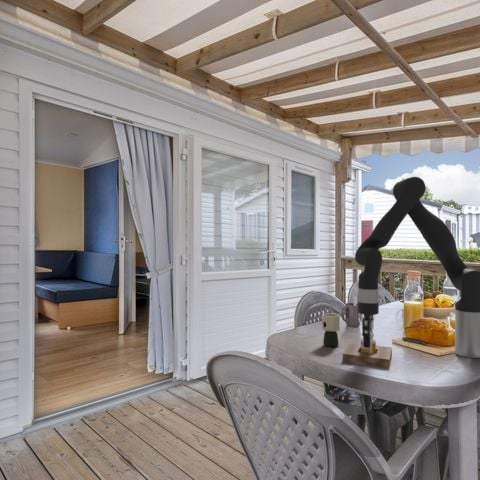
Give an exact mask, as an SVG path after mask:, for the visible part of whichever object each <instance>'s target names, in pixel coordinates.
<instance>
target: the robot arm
mask: <svg viewBox="0 0 480 480" xmlns="http://www.w3.org/2000/svg"><path fill="white" fill-rule="evenodd" d="M426 189H427V188H426V183H425V181H424V179H422V178H421V177H418V176H410V177H406V178H404V179H402V180H400V181H398V182H396V183H395V184H394V185H393V188H392V195H393V198H394V199H395V203H394V204H393V205H392V206H391V208H390V209H389V210H387V212H386V213H385V214H384V215H383V216H382V217H381V219H380V220H379V221H378V222H377V224H376V226H375V227H374V228H373V230H372V232H371V233H370V235H369V236H368V237H367V238H366V239H365V240H364V241H363V242H362V243H361V244H360V245H359V246H358V247H357V249H356V251H355V255H354V260H355V262H356V263H357V264H358V265H360V266H364V269H363V272H361V273H359V274H358V279H357V280H358V289H357V313H358V314H361V315H363V317H362V318H361V322H362V323H361V325H362V327H361V329H362V333H361V335H362V338H363V337H364V347H367V348H369V347H370V337H371V335H370V333H371V332H373V333H374V327H375V323H374V322H375V318H374V316H376V315H378V314H379V313H380V307H379V306H380V303H379V302H380V301H379V300H380V299H379V298H380V294H379V293H380V292H379V277H380V273H381V268H382V264H383V256H382V252H381V250H380V249H382V248H385V247H387V245H388V244H389V242H390V241H391V239H392V238H393V236H394V234H395V233H396V231H397V230H398V227H400V225H401V223H402V222H403V221H404V220H405V218H406V217H407V215H408V216H409V218H410V219H411V221H412V222H413V224H414V225H415V226H416V228H417V230H418V231H419V233H421V236H422V237H423V239H424V240H425V242H426V244H427V245H428V247H429V248H430V249H431V251H432V252H433V254H434V255H435V257H436V258H437V259H438V261H439V262H440V263H441V266H442V267H443V269H444V270H445V272H446V274H447V276H448V278H449V280H450V282H451V284H452V285H453V287H454V288H455V289H456V290H458V291H460V299H459V300H457V301H456V302H455V306H454V354H456V355H457V356H460V357H464V358H471V359H480V270H477V269H472V268H469V267H468V266H467V265H466V264H465V262H463V260H462V258H461V257H460V256H459V253H458V249H457V244H456V239H455V237H454V235H453V234H452V232H451V231H450V229H449V228H448V226H447V224H446V223H445V222H444V221H443V220H442V219H441V218H440V217H438V216H437V215H436V214H434V213H433V212H431V211H430V210H428V209H427V208H426V207H425V206H424V204H423V203H422V201H421V200H420V199H421V198H422V197H423V196H424V195H425V193H426ZM365 332H368V333H365Z"/></svg>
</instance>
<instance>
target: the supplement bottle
mask: <svg viewBox="0 0 480 480" xmlns="http://www.w3.org/2000/svg"><path fill="white" fill-rule="evenodd" d="M365 333H368V332H366V331H365ZM370 335H371V337H370V347H369V348H367V347H364V337H363V336H362V337H361V338H360V344H361V352H363V353H372V354H376V346H377V345H376V344H377V341H376V338H374V336H375V334H374V331H373V332H371V333H370Z"/></svg>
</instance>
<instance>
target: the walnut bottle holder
mask: <svg viewBox="0 0 480 480" xmlns="http://www.w3.org/2000/svg"><path fill="white" fill-rule="evenodd" d="M392 356H393V347H390V346H381V345H376V354H372V353H363V352H361V343H355V342H348V344H347V346H346V347H345V349H344V351H343V352H342V363H349V364H356V365H361V366H362V365H363V366H370V367H378V368H386V369H390V367H391V361H392Z"/></svg>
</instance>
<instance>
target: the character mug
mask: <svg viewBox="0 0 480 480" xmlns="http://www.w3.org/2000/svg"><path fill="white" fill-rule="evenodd" d="M321 316H322V317H321V318H322V319H321V320H322V323H321V325H322V326H321V328H322V330H323V331H325V332H324V335H323V342H322V343H323V345H324V346H326V347H330V348H332V347H334V346H335V347H336V346H339V336H338V332H339V331H340V324H341V323H340V319H341V318H340V316H341V315H340V314H338V313H332V312H329V313H322V315H321Z"/></svg>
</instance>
